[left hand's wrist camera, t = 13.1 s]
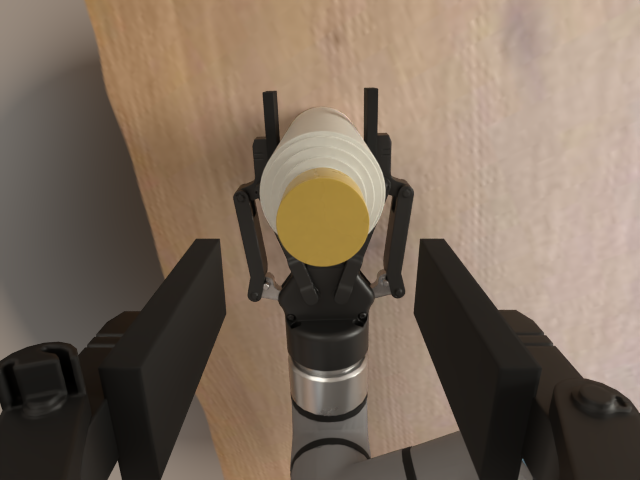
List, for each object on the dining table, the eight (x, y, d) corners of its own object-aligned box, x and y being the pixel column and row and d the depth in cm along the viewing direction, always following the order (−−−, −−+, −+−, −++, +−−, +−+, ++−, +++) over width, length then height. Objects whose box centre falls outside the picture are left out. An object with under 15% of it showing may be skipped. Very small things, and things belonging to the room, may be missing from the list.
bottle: (368, 166, 41) (418, 261, 20) (301, 191, 42) (282, 308, 21) (344, 94, 38) (370, 118, 18) (273, 123, 39) (220, 178, 19)
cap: (376, 231, 21) (382, 248, 19) (299, 259, 22) (297, 278, 20) (347, 154, 20) (350, 163, 18) (266, 185, 21) (260, 198, 18)
